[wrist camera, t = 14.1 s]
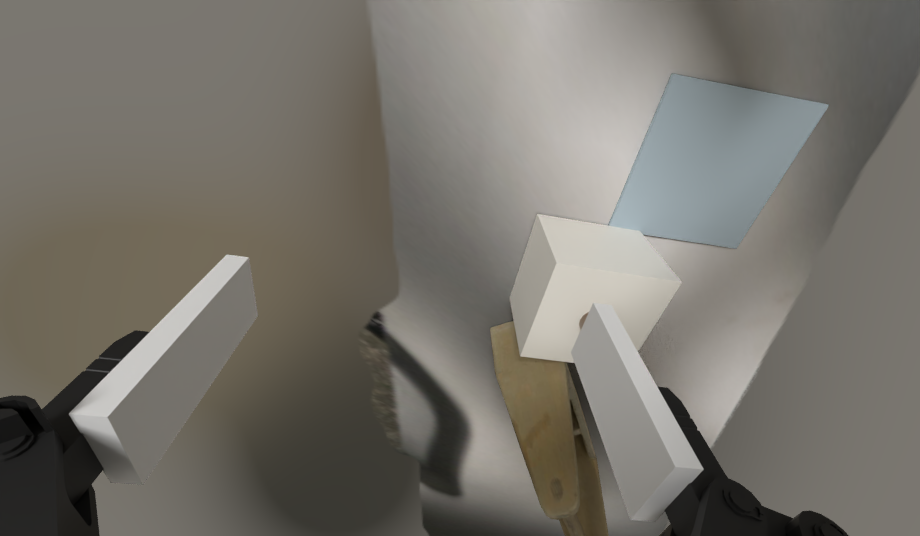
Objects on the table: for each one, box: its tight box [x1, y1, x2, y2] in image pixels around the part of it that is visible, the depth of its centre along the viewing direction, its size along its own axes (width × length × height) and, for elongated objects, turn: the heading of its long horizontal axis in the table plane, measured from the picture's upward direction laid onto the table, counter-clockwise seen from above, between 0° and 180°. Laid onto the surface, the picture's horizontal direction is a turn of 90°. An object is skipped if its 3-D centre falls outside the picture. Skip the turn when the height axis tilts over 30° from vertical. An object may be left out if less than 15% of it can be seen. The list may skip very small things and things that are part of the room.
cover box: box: [510, 214, 682, 363], centre depth 48 cm, size 15×15×22 cm
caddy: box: [490, 321, 609, 536], centre depth 58 cm, size 29×11×30 cm, turn 21°
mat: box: [608, 74, 829, 249], centre depth 50 cm, size 20×20×1 cm
